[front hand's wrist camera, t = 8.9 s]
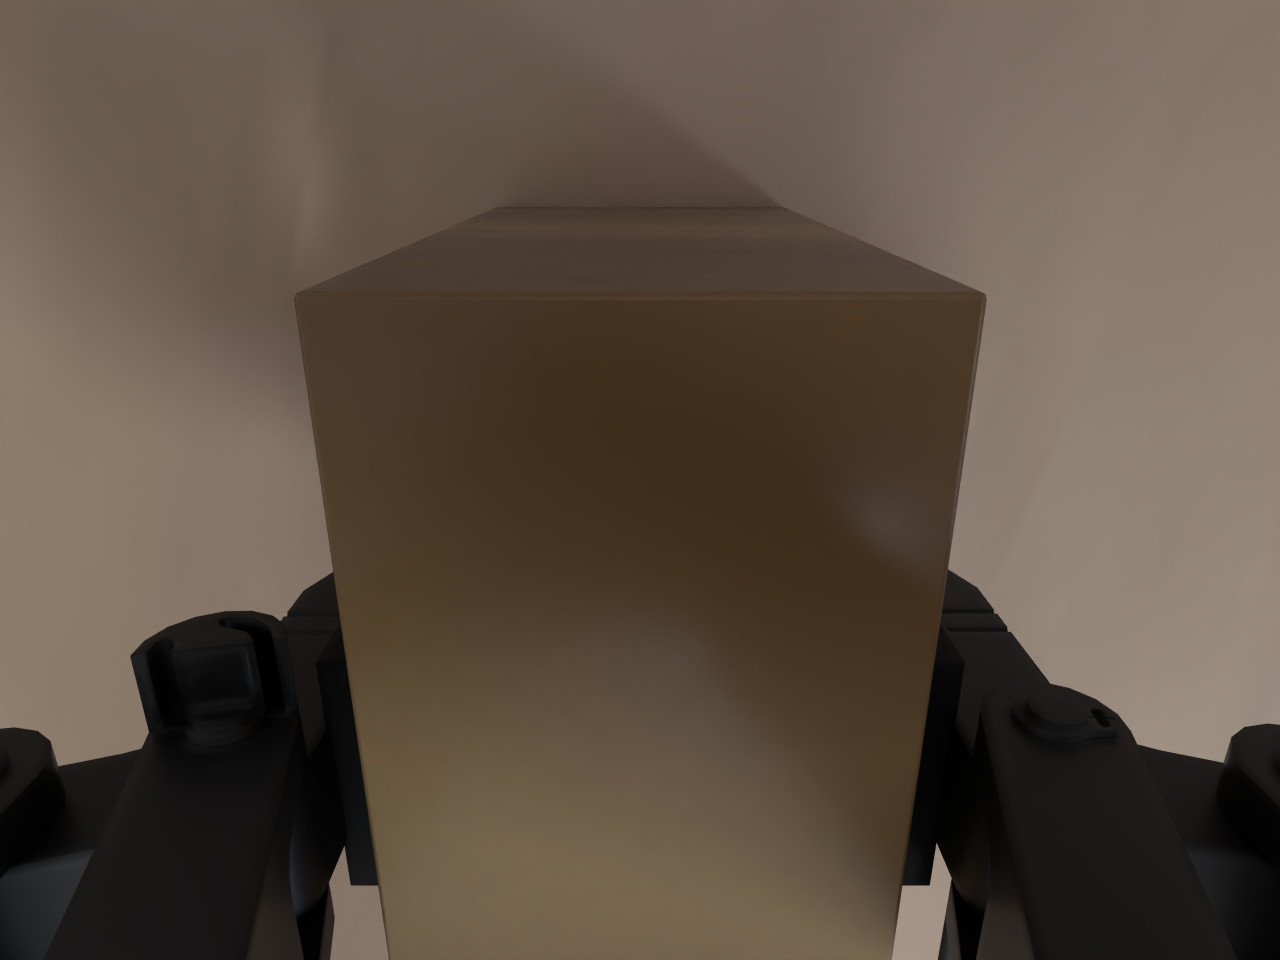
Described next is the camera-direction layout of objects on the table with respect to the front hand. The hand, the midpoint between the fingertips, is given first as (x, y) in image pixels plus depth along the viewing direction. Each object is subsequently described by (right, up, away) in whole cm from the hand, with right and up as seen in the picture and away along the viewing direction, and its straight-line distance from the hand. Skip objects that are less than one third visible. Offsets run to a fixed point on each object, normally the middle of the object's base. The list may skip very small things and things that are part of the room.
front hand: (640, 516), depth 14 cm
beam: (0, -28, +11) cm, 30 cm away
